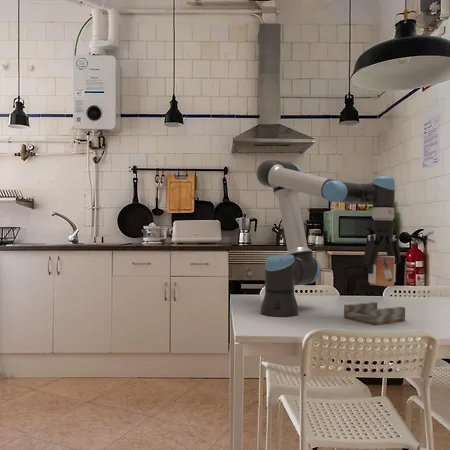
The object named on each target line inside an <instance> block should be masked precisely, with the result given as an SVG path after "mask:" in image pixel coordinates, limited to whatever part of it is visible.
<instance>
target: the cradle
mask: <svg viewBox="0 0 450 450" xmlns="http://www.w3.org/2000/svg"><path fill="white" fill-rule="evenodd" d="M343 318H344V319H347V320H350V321H351V320H352V321H354V322H355V321H356V322H359V323H363V324H368V325H372V326H379V325H388V324H394V323H399V322H406V307H405V306H395V307H385V308H378V302H377V301H376V302H375V301H370V302H369V301H368V302H359V303H350V304H344V305H343Z"/></svg>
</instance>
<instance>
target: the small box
mask: <svg viewBox="0 0 450 450" xmlns="http://www.w3.org/2000/svg"><path fill="white" fill-rule="evenodd" d="M371 261H372V260H371ZM394 261H395V257H394V256H388V255H377V258H376V260H375V263H374V265H376V283H369V285H370V286H380V287H381V286H383V287H390V288H392V287H394V285H395V282H394Z"/></svg>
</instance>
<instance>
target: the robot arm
mask: <svg viewBox="0 0 450 450" xmlns="http://www.w3.org/2000/svg"><path fill="white" fill-rule="evenodd" d="M256 179H257V181H258V182H259V183H260V184H261V185H262V186H264V187H268V188H272V191H273V195H274V196H275V197H277V198H278V205H279V210H280V215H281V216H280V217H281V221H282V226H283V227H282V228H283V232H284V238H285V243H286V248H287V251H286V253H283V254H282V253H281V254H274V255H270V256H268V257H266V258H265V263H264V264H265V265H264V292H265V293H264V296H263V299H262V303H261V306H260V314H261V315H264V316H269V317H270V316H271V317H294V316H298V315H299V311H300V308H299V307H298V302H297V299H296V296H295V286H305V285H306V286H307V285H309V284H313V283H315V282H316V281H317V280H318V279H319V277H320V274H321V271H322V269H321V263H320V261H319V260H318V259H317V257H314V254H313V250H312V249H310V248H309V247H308V243H307V237H306V232H305V226H304V221H303V216H302V210H301V205H300V199H299V195H298V194H299V192H300V193H303V194H306V195H310V196H314V197H317V198H321V199H324V200H326V201H328V202H332V203H336V204H337V203H343V204H347V205H355V206H356V205H364V204H367V205H368V204H369V205H370V204H371V205H372V211H371V213H372V216H371V217H372V218H371V219H373V220H372V221H371V229H372V231H373V234H367V235H366V243H365V250H364V254H363V257H362V258H363V260H362V261H363V263H364V264H366V265H367V274H368V276H367V277H368V281H367V283H369V284H370V283H376V265H374V263H375V260H376V258H377V256H379V252H380V249H381V248H382V247H383V248H384V249H385V252H386V256H394V257H395V261H394V283H396V273H397V265H399V264H400V262H401V261H402V258H401V250H400V244H399V238H400V237H399V236H400V235H397V234H396V235H394V234H393V231H395V221H394V219H395V192H396V185H395V183H396V181H395V178H394V177H392V176H387V175H386V176H374V177H373V178H372V182H370V183H355V182H354V183H353V182H346V181H342V180H338V179H337V180H336V179H334V178H333V179H331V178H328V177H325V176H324V177H323V176H319V175H315V174H311V173H306V172H303V171H302V168H301V167H300V166H299V165H297V164H295V163H292V162H290V161H281V160H274V159H267V160H264V161H263V162H261V163H260V164H258V166H257V169H256ZM371 260H372V261H371Z"/></svg>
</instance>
